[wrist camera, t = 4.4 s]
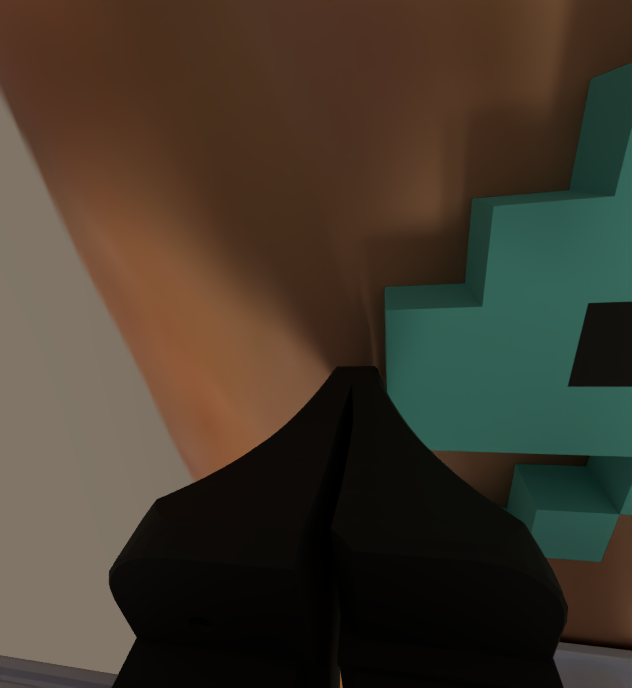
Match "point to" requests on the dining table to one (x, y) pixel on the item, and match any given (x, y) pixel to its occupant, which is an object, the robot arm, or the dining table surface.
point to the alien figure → (537, 339)
